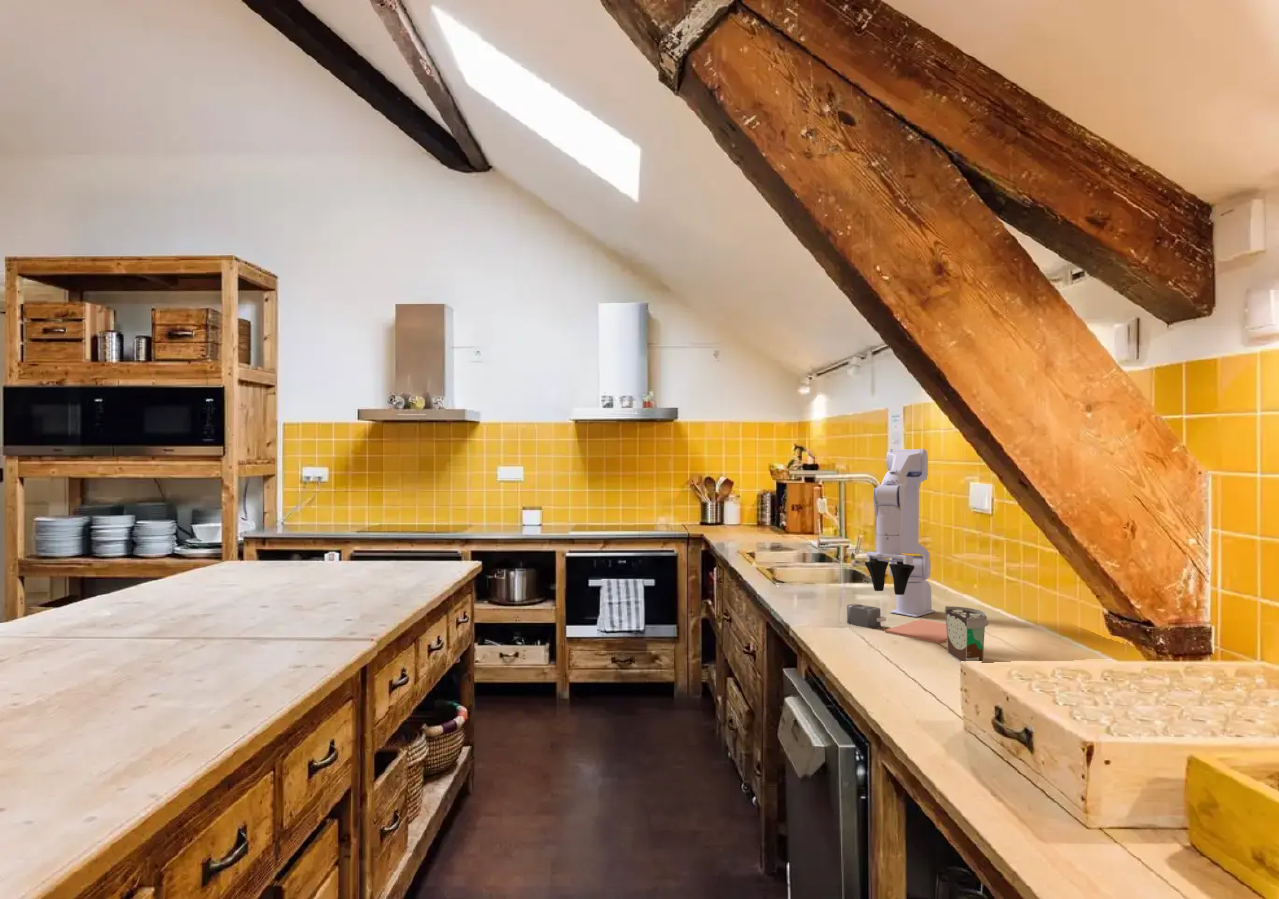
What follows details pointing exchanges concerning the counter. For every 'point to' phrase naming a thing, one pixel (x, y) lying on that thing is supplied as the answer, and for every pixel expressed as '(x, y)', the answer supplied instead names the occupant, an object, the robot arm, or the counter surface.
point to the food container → (965, 633)
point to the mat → (922, 630)
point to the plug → (864, 616)
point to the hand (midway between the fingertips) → (889, 592)
